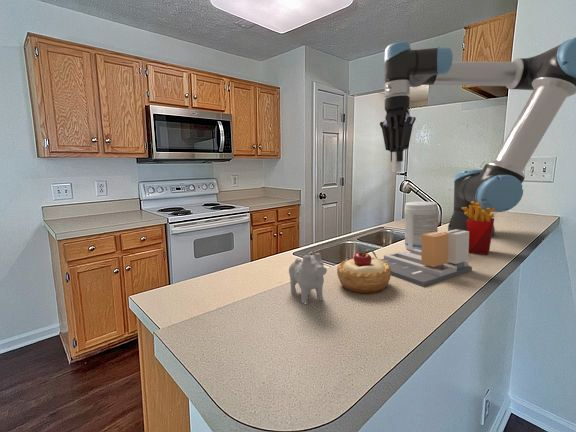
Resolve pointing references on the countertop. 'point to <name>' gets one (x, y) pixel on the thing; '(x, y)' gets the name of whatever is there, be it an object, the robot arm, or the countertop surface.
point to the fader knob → (434, 249)
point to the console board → (415, 272)
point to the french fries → (479, 228)
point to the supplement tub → (419, 222)
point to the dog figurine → (308, 275)
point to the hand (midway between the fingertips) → (396, 171)
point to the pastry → (364, 273)
